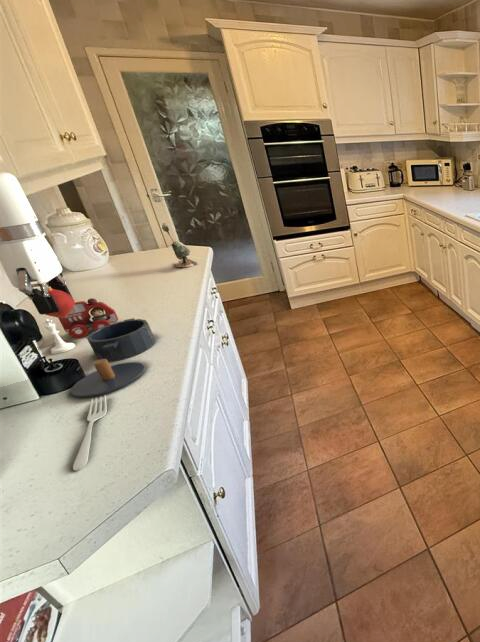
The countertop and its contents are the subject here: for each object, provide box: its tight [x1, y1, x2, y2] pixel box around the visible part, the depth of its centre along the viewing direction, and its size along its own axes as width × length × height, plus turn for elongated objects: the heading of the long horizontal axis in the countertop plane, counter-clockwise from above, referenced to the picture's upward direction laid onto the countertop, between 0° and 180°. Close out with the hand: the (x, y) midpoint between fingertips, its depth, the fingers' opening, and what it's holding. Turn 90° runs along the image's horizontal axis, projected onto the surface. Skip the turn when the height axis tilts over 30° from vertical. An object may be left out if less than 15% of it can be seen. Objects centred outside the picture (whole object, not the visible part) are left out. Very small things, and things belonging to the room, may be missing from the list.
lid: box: [70, 359, 146, 398], centre depth 99 cm, size 14×14×6 cm
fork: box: [72, 395, 108, 472], centre depth 83 cm, size 3×24×2 cm, turn 36°
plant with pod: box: [161, 222, 198, 268], centre depth 175 cm, size 8×11×20 cm
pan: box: [86, 317, 156, 363], centre depth 113 cm, size 13×18×6 cm
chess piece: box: [42, 318, 76, 355], centre depth 113 cm, size 5×5×10 cm
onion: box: [44, 286, 76, 319], centre depth 91 cm, size 6×6×8 cm
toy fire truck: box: [58, 297, 119, 339], centre depth 123 cm, size 7×12×10 cm, turn 131°
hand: (57, 306), depth 92 cm, fingers closed on onion, 6 cm apart
